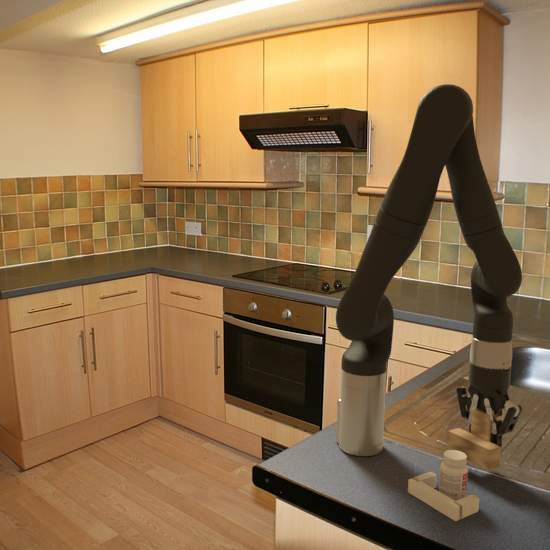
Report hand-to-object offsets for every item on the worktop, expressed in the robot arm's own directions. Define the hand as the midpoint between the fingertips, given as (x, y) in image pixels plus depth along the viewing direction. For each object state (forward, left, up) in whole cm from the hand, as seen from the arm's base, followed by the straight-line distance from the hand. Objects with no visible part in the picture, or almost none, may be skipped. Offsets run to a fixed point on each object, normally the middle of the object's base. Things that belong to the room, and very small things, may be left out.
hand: (484, 445), depth 117 cm
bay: (+4, -16, -5) cm, 17 cm away
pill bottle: (+4, -13, -5) cm, 15 cm away
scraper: (0, -1, -2) cm, 2 cm away
